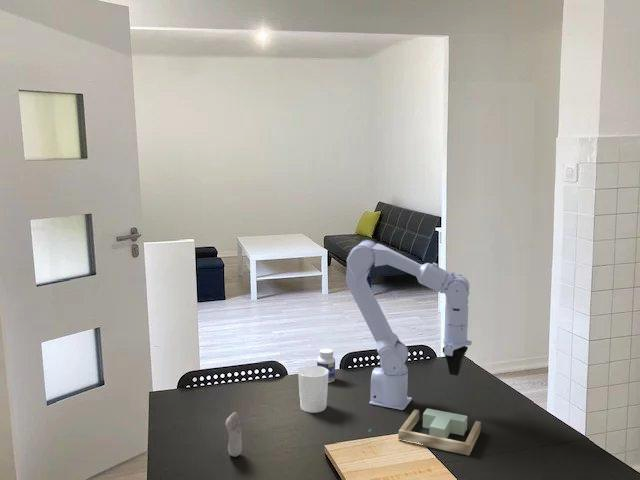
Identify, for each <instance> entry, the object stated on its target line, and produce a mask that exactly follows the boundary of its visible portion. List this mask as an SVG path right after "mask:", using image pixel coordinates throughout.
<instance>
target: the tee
mask: <svg viewBox="0 0 640 480" xmlns="http://www.w3.org/2000/svg"><path fill="white" fill-rule="evenodd" d="M422 428H424V429H429V434H428V435H431V436H436V437H441V438H446V439H449V436H450V434H453V435H454V434H455V435H460V436H465V433H466V432H467V430H468V415H465V414H459V413H455V412H454V413H453V412H449V411H443V410H438V409H433V408H426V409H425V410H424V412H423V413H422Z"/></svg>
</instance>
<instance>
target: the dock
mask: <svg viewBox="0 0 640 480" xmlns="http://www.w3.org/2000/svg"><path fill="white" fill-rule="evenodd" d="M419 420H420V409H413V411H412V412H411V413H410V415H409V416H408V418H407V419H406V420H405V422H403V424H402V425H401V427H400V429H398V435H397V436H398V439H401V440H406V441H411V442H417V443H418V442H419V443H421V444H423V445H424V446H423V447H426V448H432V449H435V450H436V449H437V450H440V451H446V452H452V453H455V454H460V455H464V456H465V455H466V456H470V455H471V452H472V451H473V449H474V446H475V444H476V442H477V440H478V437H479V435H480V433H481V428H482V425H481V424H482V422H481V421H478V420H475V422H474V424H473V425H472V428H471V430H470V432H469V433H468V436H467V438H466V440H465V441H460V440H456V439H451V438H447V439H446V438H441V437H436V436H431V435H429V434H428V433H427V434H426V433H422V432H416V431H412V430H413V428H414V427H415V425H416V424H417V423H418V422H419ZM398 439H397V440H398Z"/></svg>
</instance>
